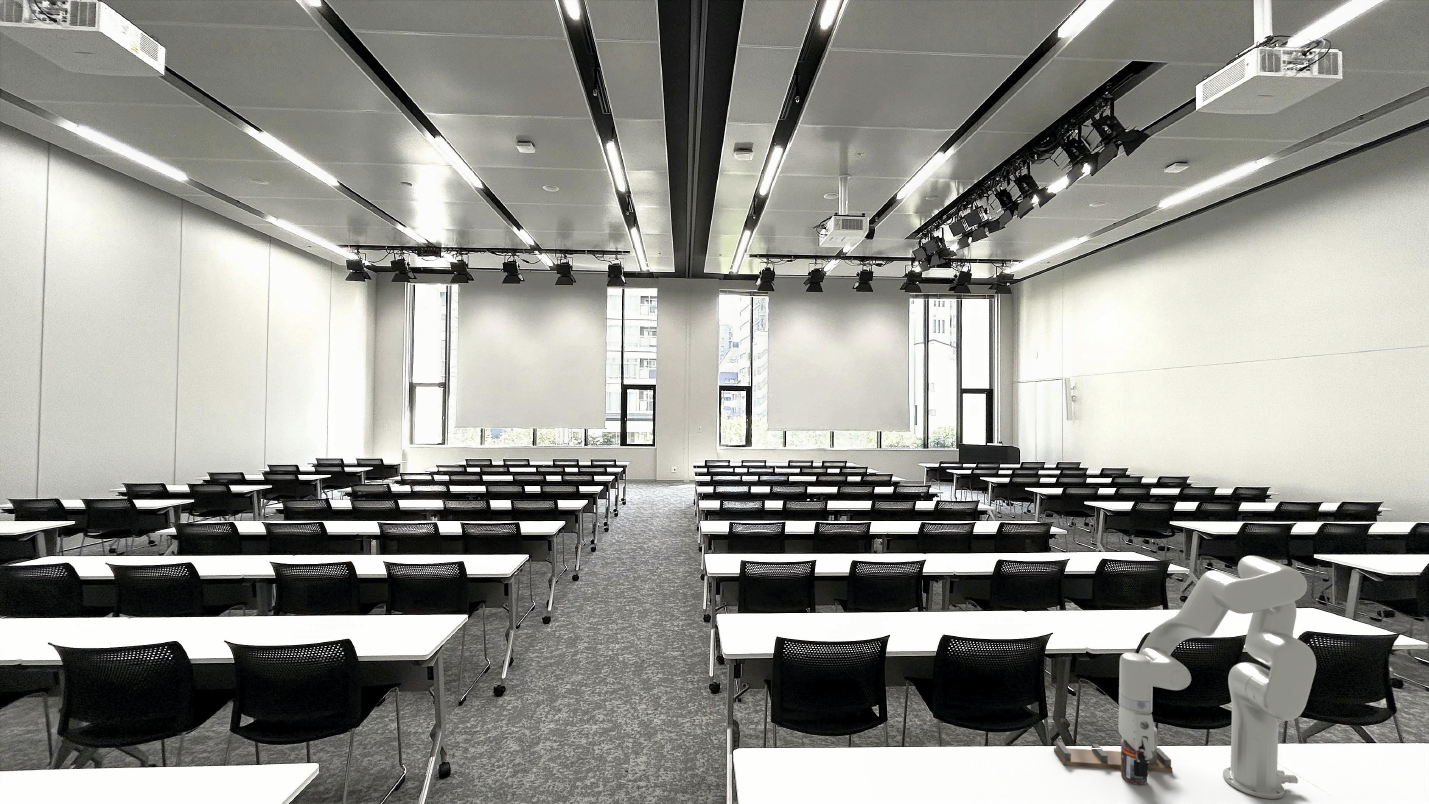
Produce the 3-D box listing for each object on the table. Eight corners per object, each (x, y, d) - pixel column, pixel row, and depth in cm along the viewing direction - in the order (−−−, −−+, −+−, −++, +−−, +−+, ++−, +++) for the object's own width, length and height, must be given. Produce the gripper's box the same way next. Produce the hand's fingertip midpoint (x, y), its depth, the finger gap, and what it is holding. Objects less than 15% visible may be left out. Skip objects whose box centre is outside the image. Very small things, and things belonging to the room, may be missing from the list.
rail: (1158, 758, 188) (1158, 722, 188) (1172, 772, 181) (1173, 735, 181) (1053, 751, 191) (1054, 716, 191) (1063, 765, 184) (1064, 729, 184)
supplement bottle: (1120, 770, 182) (1121, 729, 182) (1146, 776, 179) (1147, 735, 178) (1120, 781, 177) (1121, 739, 176) (1147, 788, 174) (1148, 745, 173)
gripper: (1168, 718, 168) (1167, 789, 169) (1133, 687, 185) (1132, 751, 186) (1137, 717, 169) (1135, 786, 170) (1105, 686, 186) (1103, 749, 187)
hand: (1134, 767), depth 178 cm, fingers closed on supplement bottle, 6 cm apart
